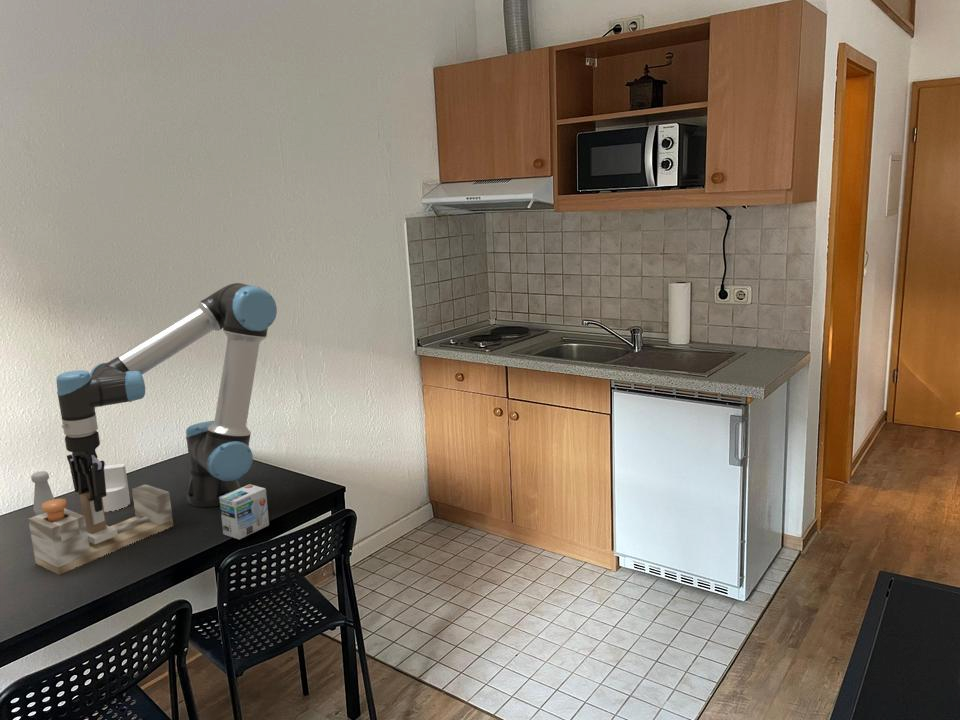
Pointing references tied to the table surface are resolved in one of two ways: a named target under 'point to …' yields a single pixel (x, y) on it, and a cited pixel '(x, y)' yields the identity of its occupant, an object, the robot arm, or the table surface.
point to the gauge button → (54, 509)
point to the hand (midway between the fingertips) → (94, 520)
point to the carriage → (98, 530)
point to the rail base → (68, 537)
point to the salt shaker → (41, 491)
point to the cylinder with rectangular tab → (115, 488)
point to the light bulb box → (244, 511)
